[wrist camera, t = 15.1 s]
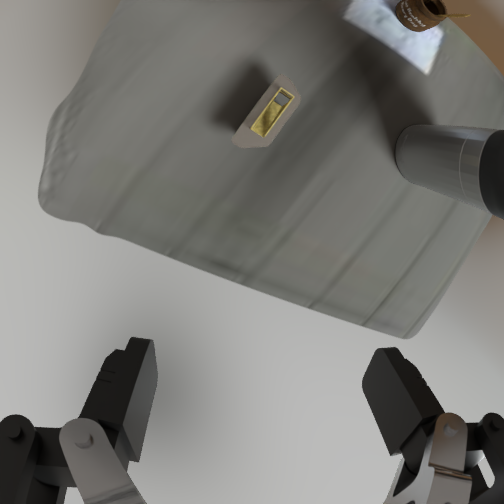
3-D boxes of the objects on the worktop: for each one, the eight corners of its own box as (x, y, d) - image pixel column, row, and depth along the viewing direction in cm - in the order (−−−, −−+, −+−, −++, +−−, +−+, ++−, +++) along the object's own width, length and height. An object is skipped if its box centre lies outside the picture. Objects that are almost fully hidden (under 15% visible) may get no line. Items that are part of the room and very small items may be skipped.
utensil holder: (410, -1, 26) (452, -25, 15) (431, 30, 28) (478, 13, 17) (387, 5, 27) (428, -23, 16) (409, 38, 29) (457, 19, 18)
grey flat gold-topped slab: (339, 94, 33) (358, 87, 27) (263, 199, 38) (269, 211, 32) (266, 43, 30) (272, 25, 24) (187, 150, 35) (177, 153, 29)
